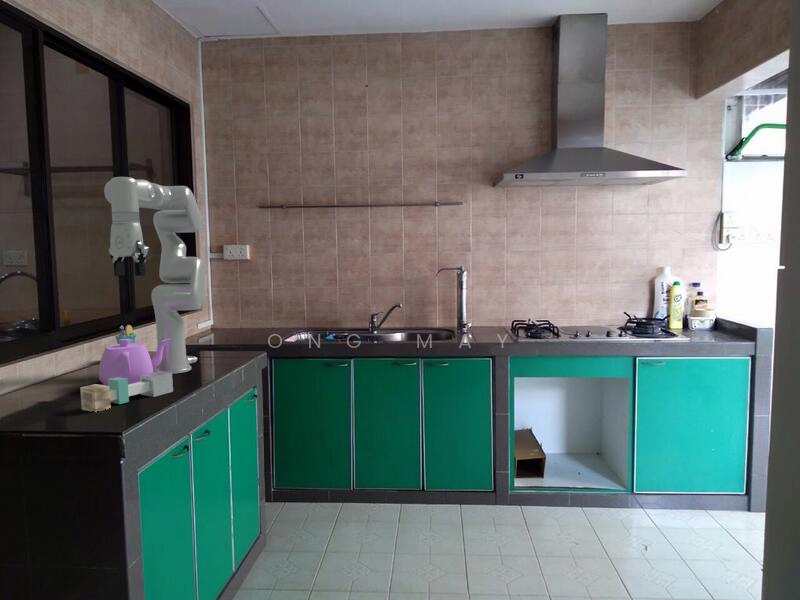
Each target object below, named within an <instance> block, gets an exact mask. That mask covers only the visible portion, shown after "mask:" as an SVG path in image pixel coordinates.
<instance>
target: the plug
mask: <svg viewBox="0 0 800 600" xmlns="http://www.w3.org/2000/svg"><path fill="white" fill-rule="evenodd" d="M108 386H109V388H110V402H111V403H112V404H116V405H122V404H126V403H128V402H130V397H131V396H137V395H139V394H140V395H141V393H144V392H148V391H151V381H148V380H146V381H141V382H137V383H133V384H128V380H127V378H120V377H115V378H111V379H108Z"/></svg>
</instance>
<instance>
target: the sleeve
mask: <svg viewBox="0 0 800 600" xmlns="http://www.w3.org/2000/svg"><path fill="white" fill-rule="evenodd" d="M146 380H148V381H151V391H148V392H144V393H140V395H141V396H146V397H147V396H148V397H154V398H155V397H158V396H162V395H165V394H169V393H173V392H174V386H173V385H174V384H173V383H174V382H173V380H174V379H173V374H172V372H163V371H157V372H152V373H148V374H144V375H140V382H141V381H146Z"/></svg>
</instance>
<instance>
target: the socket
mask: <svg viewBox="0 0 800 600" xmlns="http://www.w3.org/2000/svg"><path fill="white" fill-rule="evenodd" d="M79 389H80V401H81V402H80V403H81V404H80V405H81V410H82V411H88V412H92V411H94V412H93V413H98V412H97V411H99V412H103V411H106V410H110V409H112V408H111V407H112V405H111V402H110V388H109V386H105V385H103V384H96V383H95V384H94V383H93V384H90V385H86V386H81V387H80V388H79ZM109 408H110V409H109ZM105 409H106V410H105Z"/></svg>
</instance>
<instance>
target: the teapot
mask: <svg viewBox="0 0 800 600" xmlns="http://www.w3.org/2000/svg"><path fill="white" fill-rule="evenodd" d="M130 340H131V339H119V340H118V341H119V343H120V344H117V343H116V344H109V345H107V346H106V347H105V348H104V349H103V353H102V355H101V358H100V361H99V368H98V378H99V381H100V382H101V384H102V385H105V386H108V379H111V378H115V377H120V378H127V380H128V384H133V383H137V382H140V375H144V374H148V373H152V372H154V370H155V369H156V368H158V367H159V365H160V363H161V360H162V355H163V348H164V346H165V344H166V343H167V342H168V341H169V340H170V339H166V340H162V341H160V342H159V344H158V346H157V347H156V353H155V354H154V355H153V356H152V357H151V356H150V353H149V351H148V349H147V347H146V345H145V344H144V343H142V342H135V343H130Z"/></svg>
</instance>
